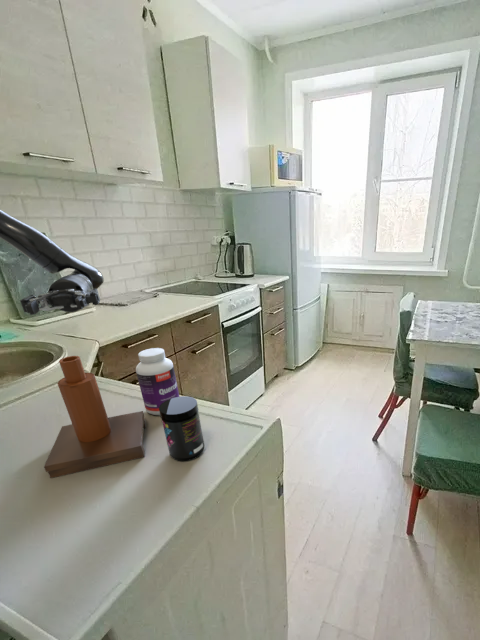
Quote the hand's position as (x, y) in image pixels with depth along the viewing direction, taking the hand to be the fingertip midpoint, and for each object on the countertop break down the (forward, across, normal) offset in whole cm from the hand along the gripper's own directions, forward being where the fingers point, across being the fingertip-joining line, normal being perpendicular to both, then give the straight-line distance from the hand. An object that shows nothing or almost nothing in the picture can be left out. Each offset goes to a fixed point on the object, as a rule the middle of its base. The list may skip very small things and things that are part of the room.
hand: (54, 307), depth 71 cm
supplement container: (+22, +20, +26) cm, 40 cm away
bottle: (+13, +3, +23) cm, 27 cm away
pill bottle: (+2, +16, +26) cm, 31 cm away
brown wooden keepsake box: (+14, +4, +26) cm, 30 cm away
